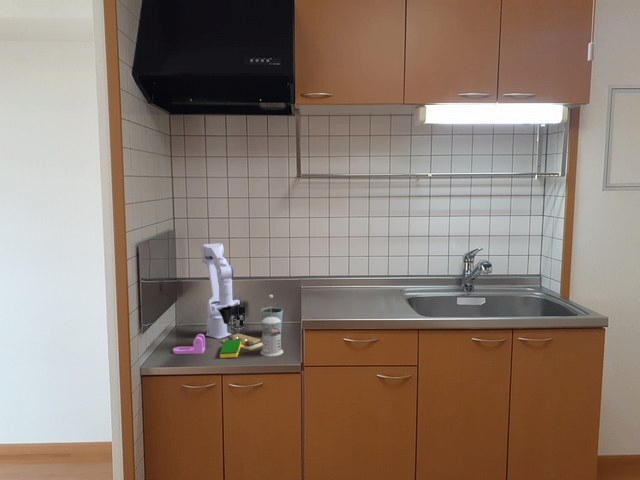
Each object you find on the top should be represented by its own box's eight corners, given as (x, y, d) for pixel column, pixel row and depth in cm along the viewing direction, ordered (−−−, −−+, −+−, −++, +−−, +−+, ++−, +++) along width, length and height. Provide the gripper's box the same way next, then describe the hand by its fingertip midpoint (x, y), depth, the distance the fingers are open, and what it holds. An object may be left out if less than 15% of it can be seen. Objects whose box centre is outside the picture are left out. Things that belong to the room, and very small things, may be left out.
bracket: (205, 349, 212) (204, 333, 212) (202, 353, 207) (201, 338, 206) (175, 349, 212) (174, 334, 211) (171, 354, 207) (170, 338, 206)
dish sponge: (220, 358, 201) (219, 352, 201) (225, 345, 215) (225, 340, 214) (237, 357, 201) (236, 351, 201) (241, 344, 215) (241, 339, 215)
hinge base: (263, 345, 217) (263, 338, 217) (249, 350, 210) (249, 344, 210) (235, 337, 228) (235, 331, 227) (221, 342, 221) (221, 336, 220)
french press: (262, 357, 202) (260, 298, 199) (258, 347, 213) (256, 291, 210) (285, 354, 205) (284, 296, 202) (280, 345, 216) (279, 290, 213)
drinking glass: (259, 332, 234) (258, 308, 233) (279, 330, 238) (278, 306, 237) (265, 339, 225) (264, 313, 223) (286, 336, 229) (285, 311, 227)
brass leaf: (260, 342, 218) (260, 338, 218) (249, 346, 213) (249, 341, 212) (238, 336, 226) (238, 332, 226) (227, 340, 221) (227, 335, 221)
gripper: (219, 297, 206) (220, 329, 208) (244, 291, 217) (244, 321, 219) (208, 295, 210) (209, 326, 212) (233, 289, 221) (233, 318, 223)
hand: (226, 323), depth 216 cm, fingers closed
